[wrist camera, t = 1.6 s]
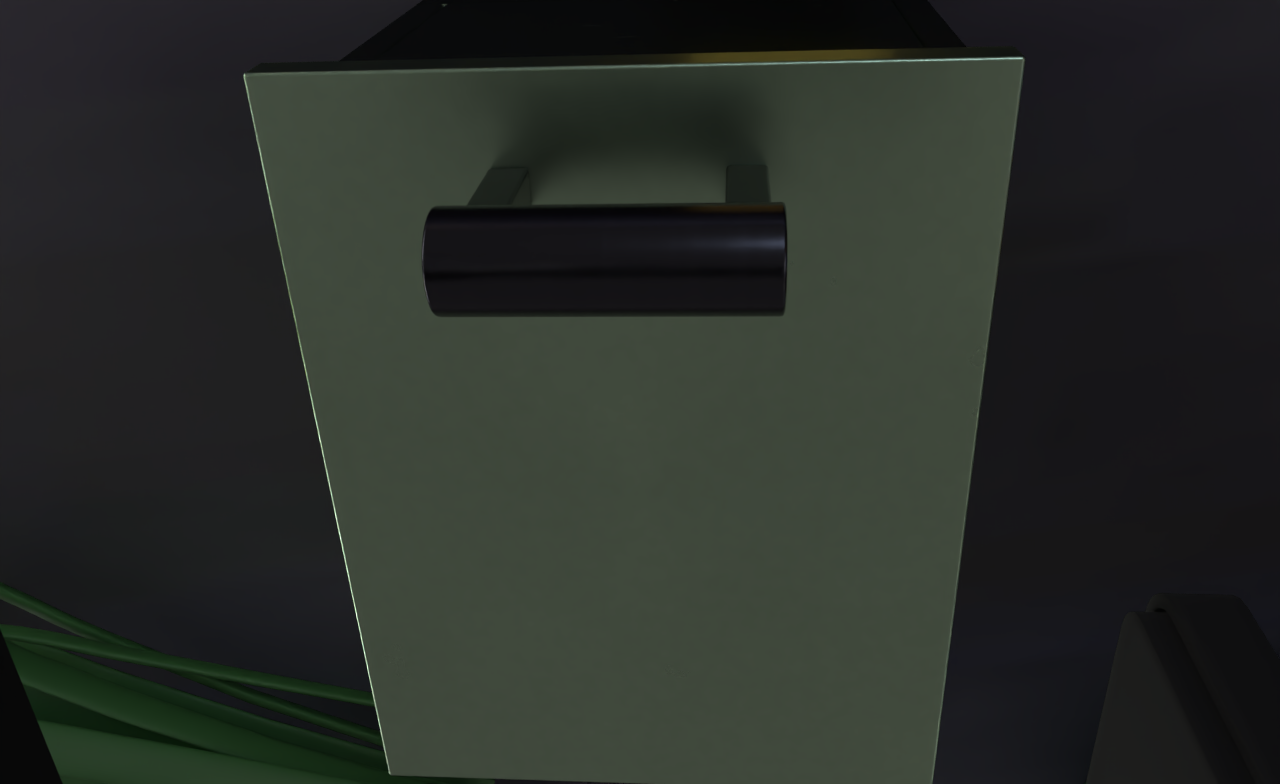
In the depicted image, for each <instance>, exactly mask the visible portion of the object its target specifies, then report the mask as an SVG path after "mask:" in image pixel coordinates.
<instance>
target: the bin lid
mask: <svg viewBox="0 0 1280 784" xmlns="http://www.w3.org/2000/svg"><path fill="white" fill-rule="evenodd" d="M1025 60H1026V59H1025V56H1024V55H1023V54H1022V53H1021V52H1020V51H1018V50H1017V49H1016V48H1015V47H1013V46H996V47H951V48H906V49H861V50H817V51H772V52H727V53H682V54H638V55H593V56H548V57H503V58H459V59H414V60H369V61H324V62H280V63H260V64H259V65H257V66H255V67H254V68H252V69H250V70H249V71H247V72H245V73H244V81H245V86H246V91H247V96H248V100H249V105H250V110H251V115H252V120H253V124H254V129H255V134H256V139H257V143H258V148H259V153H260V158H261V163H262V167H263V172H264V177H265V182H266V187H267V191H268V196H269V201H270V206H271V210H272V215H273V220H274V225H275V230H276V234H277V239H278V244H279V249H280V253H281V258H282V263H283V268H284V273H285V277H286V282H287V287H288V292H289V297H290V301H291V306H292V311H293V316H294V320H295V325H296V330H297V335H298V340H299V344H300V349H301V354H302V359H303V363H304V368H305V373H306V378H307V383H308V387H309V392H310V397H311V402H312V407H313V411H314V416H315V421H316V426H317V430H318V435H319V440H320V445H321V450H322V454H323V459H324V464H325V469H326V473H327V478H328V483H329V488H330V493H331V497H332V502H333V507H334V512H335V517H336V521H337V526H338V531H339V536H340V540H341V545H342V550H343V555H344V560H345V564H346V569H347V574H348V579H349V583H350V588H351V593H352V598H353V603H354V607H355V612H356V617H357V622H358V627H359V631H360V636H361V641H362V646H363V650H364V655H365V660H366V665H367V670H368V674H369V679H370V684H371V689H372V693H373V698H374V703H375V708H376V713H377V717H378V722H379V727H380V732H381V737H382V741H383V746H384V751H385V756H386V760H387V765H388V770H389V774H390V775H394V776H424V777H454V778H485V779H515V780H545V781H575V782H605V783H635V784H933V776H934V768H935V760H936V753H937V745H938V737H939V729H940V721H941V714H942V706H943V698H944V690H945V682H946V675H947V667H948V659H949V651H950V644H951V636H952V628H953V620H954V612H955V605H956V597H957V589H958V581H959V574H960V566H961V558H962V550H963V542H964V535H965V527H966V519H967V511H968V504H969V496H970V488H971V480H972V472H973V465H974V457H975V449H976V441H977V434H978V426H979V418H980V410H981V402H982V395H983V387H984V379H985V371H986V364H987V356H988V348H989V340H990V332H991V325H992V317H993V309H994V301H995V293H996V286H997V278H998V270H999V262H1000V255H1001V247H1002V239H1003V231H1004V223H1005V216H1006V208H1007V200H1008V192H1009V185H1010V177H1011V169H1012V161H1013V153H1014V146H1015V138H1016V130H1017V122H1018V115H1019V107H1020V99H1021V91H1022V83H1023V76H1024V68H1025Z"/></svg>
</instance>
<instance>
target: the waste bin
mask: <svg viewBox="0 0 1280 784" xmlns="http://www.w3.org/2000/svg"><path fill="white" fill-rule="evenodd" d="M951 47H966V46H965V45H964V43H963V42H962V41H961V40H960V39H959V37H958V36H957V35H956V34H955V33H954V32H953V30H952V29H951V28H950V27H949V26H948V24H947V23H946V22H945V21H944V20H943V19H942V17H941V16H940V15H939V14H938V13H937V12H936V10H935V9H934V8H933V7H932V6H931V4H930V3H929V2H928V1H927V0H422V1H421V2H420V3H418V4H417V5H416V6H414V7H413V8H411V9H410V10H409V11H407V12H406V13H405V14H403V15H402V16H400V17H399V18H398V19H396V20H395V21H393V22H392V23H391V24H389V25H388V26H387V27H385V28H384V29H382V30H381V31H380V32H378V33H377V34H375V35H374V36H373V37H371V38H370V39H369V40H367V41H366V42H364V43H363V44H362V45H360V46H359V47H358V48H356V49H355V50H353V51H352V52H351V53H349V54H348V55H346V56H345V57H344V58H342V59H341V60H340V61H369V60H414V59H459V58H503V57H548V56H593V55H638V54H682V53H727V52H772V51H817V50H861V49H906V48H951Z"/></svg>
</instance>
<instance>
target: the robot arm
mask: <svg viewBox="0 0 1280 784" xmlns="http://www.w3.org/2000/svg"><path fill="white" fill-rule="evenodd" d="M0 784H63V783H62V781H61V778H60V776H59V773H58V771H57V768H56V766H55V763H54V761H53V758H52V756H51V753H50V751H49V748H48V746H47V743H46V741H45V739H44V736H43V734H42V731H41V729H40V726H39V724H38V721H37V719H36V716H35V714H34V711H33V709H32V706H31V704H30V701H29V699H28V696H27V694H26V692H25V689H24V687H23V684H22V682H21V679H20V677H19V674H18V672H17V669H16V667H15V664H14V662H13V659H12V657H11V654H10V652H9V649H8V647H7V645H6V642H5V640H4V637H3V635H2V632H1V630H0ZM1086 784H1280V659H1279V658H1278V656H1277V655H1276V653H1275V651H1274V650H1273V648H1272V646H1271V645H1270V643H1269V642H1268V640H1267V638H1266V637H1265V635H1264V633H1263V632H1262V630H1261V628H1260V627H1259V625H1258V624H1257V622H1256V620H1255V619H1254V617H1253V615H1252V614H1251V612H1250V610H1249V609H1248V607H1247V606H1246V605H1245V604H1244V603H1243V601H1242V600H1241V599H1240V598H1238V597H1236V596H1234V595H1211V594H1169V593H1159V594H1156V595H1154V596H1153V597H1152V598H1151V599H1150V601H1149V602H1148V605H1147V608H1146V611H1145V612H1129V613H1127V615H1126V616H1125V617H1124V620H1123V623H1122V626H1121V630H1120V635H1119V639H1118V643H1117V648H1116V652H1115V657H1114V661H1113V666H1112V670H1111V674H1110V679H1109V683H1108V688H1107V692H1106V697H1105V701H1104V705H1103V710H1102V714H1101V719H1100V723H1099V727H1098V732H1097V736H1096V741H1095V745H1094V750H1093V754H1092V758H1091V763H1090V767H1089V772H1088V776H1087V781H1086Z"/></svg>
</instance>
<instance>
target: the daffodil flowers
mask: <svg viewBox="0 0 1280 784" xmlns="http://www.w3.org/2000/svg"><path fill="white" fill-rule="evenodd" d="M0 599H2V600H4V601H6V602H8V603H10V604H13V605H15V606H17V607H19V608H21V609H24V610H26V611H28V612H30V613H32V614H34V615H36V616H38V617H40V618H42V619H44V620H46V621H48V622H50V623H53V624H55V625H57V626H59V627H62V628H64V629H66V630H68V631H71V632H73V633H75V634H77V635H80V636H82V637H85V638H82V637H77V636H72V635H67V634H62V633H57V632H52V631H46V630H40V629H34V628H28V627H21V626H13V625H3V624H0V630H1V632H2V635H3V637H4V640H5V642H6V645H7V647H8V649H9V652H10V654H11V657H12V659H13V662H14V664H15V667H16V669H17V672H18V674H19V677H20V679H21V682H22V684H23V687H24V689H25V692H26V694H27V696H28V699H29V701H30V704H31V706H32V709H33V711H34V714H35V716H36V719H37V721H38V724H39V726H40V729H41V731H42V734H43V736H44V739H45V741H46V743H47V746H48V748H49V751H50V753H51V756H52V758H53V761H54V763H55V766H56V768H57V771H58V773H59V776H60V778H61V781H62V783H63V784H494V782H495V779H485V778H454V777H424V776H394V775H390V774H389V770H388V765H387V760H386V756H385V752H384V751H380V750H377V749H373V748H370V747H366V746H363V745H359V744H356V743H352V742H349V741H345V740H341V739H338V738H334V737H331V736H327V735H324V734H320V733H317V732H313V731H310V730H306V729H303V728H299V727H296V726H292V725H289V724H285V723H281V722H278V721H274V720H271V719H267V718H264V717H261V716H258V715H255V714H252V713H249V712H246V711H243V710H239V709H236V708H233V707H230V706H227V705H224V704H221V703H218V702H215V701H211V700H208V699H205V698H202V697H199V696H196V695H193V694H190V693H187V692H183V691H180V690H177V689H174V688H171V687H168V686H165V685H162V684H159V683H155V682H152V681H149V680H146V679H143V678H140V677H137V676H134V675H131V674H128V673H125V672H122V671H119V670H116V669H113V668H110V667H107V666H105V665H102V664H99V663H96V662H93V661H91V660H88V659H85V658H83V657H80V656H77V655H74V654H72V653H69V652H66V651H63V650H68V651H73V652H78V653H83V654H88V655H92V656H97V657H102V658H107V659H113V660H118V661H123V662H129V663H134V664H140V665H145V666H151V667H156V668H161V669H165V670H167V671H170V672H172V673H175V674H177V675H180V676H182V677H185V678H188V679H190V680H193V681H195V682H198V683H200V684H203V685H205V686H208V687H210V688H213V689H215V690H218V691H220V692H223V693H225V694H228V695H230V696H233V697H235V698H238V699H241V700H243V701H246V702H248V703H251V704H254V705H257V706H260V707H263V708H266V709H269V710H272V711H276V712H279V713H282V714H285V715H288V716H291V717H294V718H297V719H300V720H303V721H306V722H309V723H312V724H315V725H318V726H321V727H324V728H327V729H330V730H333V731H336V732H339V733H342V734H345V735H348V736H351V737H355V738H358V739H361V740H364V741H367V742H370V743H373V744H376V745H379V746H382V747H384V746H383V741H382V737H381V732H380V731H377V730H374V729H371V728H368V727H365V726H362V725H359V724H356V723H353V722H350V721H347V720H344V719H341V718H338V717H335V716H332V715H329V714H326V713H323V712H320V711H317V710H314V709H311V708H308V707H305V706H302V705H299V704H296V703H293V702H290V701H287V700H284V699H281V698H278V697H275V696H272V695H269V694H266V693H263V692H260V691H257V690H254V689H251V688H248V687H246V686H243V685H241V684H238V683H243V684H248V685H254V686H259V687H265V688H270V689H276V690H282V691H287V692H293V693H299V694H304V695H310V696H315V697H321V698H327V699H332V700H338V701H344V702H349V703H355V704H360V705H366V706H372V707H375V703H374V698H373V693H371V692H366V691H360V690H355V689H349V688H344V687H338V686H333V685H328V684H322V683H317V682H311V681H306V680H300V679H295V678H289V677H284V676H279V675H273V674H268V673H262V672H257V671H252V670H246V669H241V668H236V667H231V666H225V665H220V664H215V663H210V662H204V661H199V660H194V659H189V658H183V657H178V656H173V655H167V654H164V653H161V652H159V651H156V650H154V649H151V648H149V647H146V646H144V645H141V644H139V643H136V642H134V641H131V640H129V639H126V638H124V637H121V636H119V635H116V634H114V633H111V632H109V631H106V630H104V629H102V628H99V627H97V626H95V625H92V624H90V623H87V622H85V621H83V620H81V619H78V618H76V617H74V616H72V615H70V614H67V613H65V612H63V611H61V610H59V609H57V608H55V607H52V606H50V605H48V604H46V603H44V602H42V601H40V600H38V599H36V598H34V597H32V596H30V595H28V594H25V593H23V592H21V591H19V590H17V589H14V588H12V587H10V586H8V585H6V584H4V583H2V582H0ZM86 638H87V639H86ZM60 649H63V650H60ZM236 682H237V683H236ZM507 780H511V779H507Z"/></svg>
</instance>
